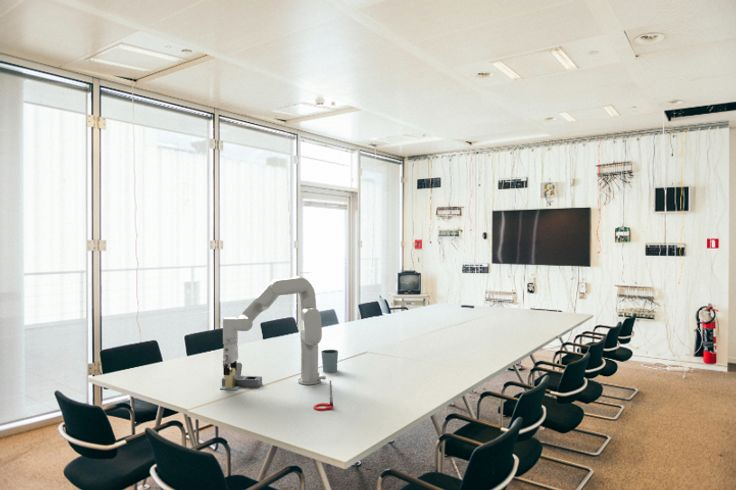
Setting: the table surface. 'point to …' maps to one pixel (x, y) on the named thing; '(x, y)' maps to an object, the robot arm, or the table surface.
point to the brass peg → (230, 379)
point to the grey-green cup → (329, 360)
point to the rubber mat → (230, 389)
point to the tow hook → (330, 405)
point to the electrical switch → (239, 368)
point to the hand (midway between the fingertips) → (230, 372)
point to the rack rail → (246, 381)
